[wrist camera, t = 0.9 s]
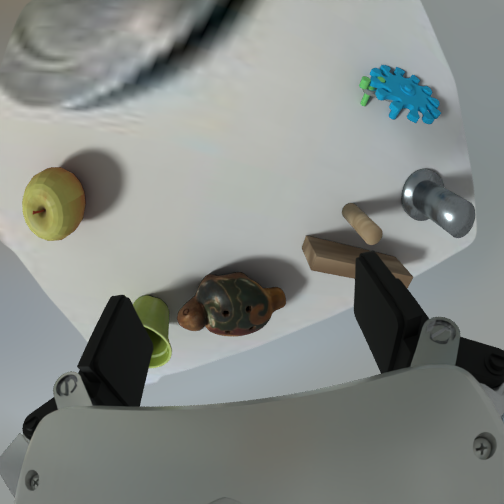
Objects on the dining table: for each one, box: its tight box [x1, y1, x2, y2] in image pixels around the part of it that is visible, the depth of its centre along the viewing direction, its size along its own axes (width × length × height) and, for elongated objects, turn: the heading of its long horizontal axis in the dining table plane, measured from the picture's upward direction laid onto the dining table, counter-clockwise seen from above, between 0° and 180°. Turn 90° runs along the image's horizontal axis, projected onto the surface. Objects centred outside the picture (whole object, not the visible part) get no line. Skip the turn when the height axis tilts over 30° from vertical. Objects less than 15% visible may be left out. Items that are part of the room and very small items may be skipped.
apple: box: [22, 167, 86, 241], centre depth 31 cm, size 10×10×8 cm
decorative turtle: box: [177, 272, 286, 336], centre depth 40 cm, size 10×15×8 cm, turn 99°
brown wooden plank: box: [302, 236, 413, 288], centre depth 39 cm, size 2×16×6 cm, turn 76°
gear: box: [359, 65, 441, 124], centre depth 29 cm, size 11×6×10 cm
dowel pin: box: [342, 203, 382, 245], centre depth 35 cm, size 2×2×8 cm
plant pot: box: [133, 296, 172, 368], centre depth 41 cm, size 9×9×9 cm
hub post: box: [401, 169, 475, 238], centre depth 33 cm, size 8×8×10 cm
